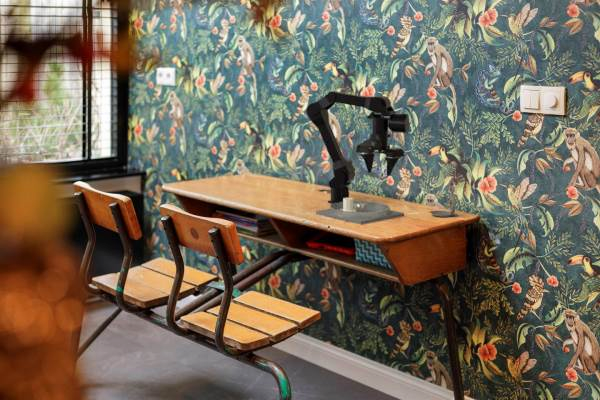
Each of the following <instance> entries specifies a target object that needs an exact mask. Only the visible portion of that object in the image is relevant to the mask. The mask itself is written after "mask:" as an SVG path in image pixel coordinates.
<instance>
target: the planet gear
mask: <svg viewBox="0 0 600 400" xmlns="http://www.w3.org/2000/svg"><path fill="white" fill-rule="evenodd" d="M353 201H354V198H353V197H349V198H343V209H340V210H343V211H351V212H356V210H355V209H353Z"/></svg>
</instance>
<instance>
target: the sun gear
mask: <svg viewBox="0 0 600 400" xmlns="http://www.w3.org/2000/svg"><path fill="white" fill-rule="evenodd" d="M353 209H355V210H356V212H367V204H366V203H361V202H359V203H353Z"/></svg>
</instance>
